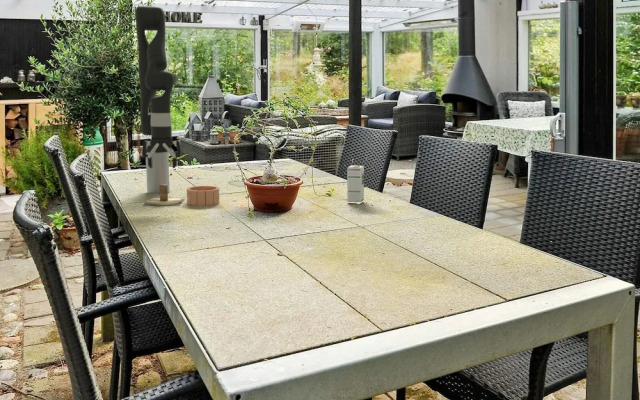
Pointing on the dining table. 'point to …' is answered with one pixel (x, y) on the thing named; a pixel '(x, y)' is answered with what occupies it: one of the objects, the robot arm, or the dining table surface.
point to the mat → (168, 205)
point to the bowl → (203, 195)
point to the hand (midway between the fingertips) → (162, 167)
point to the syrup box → (355, 183)
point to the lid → (163, 198)
